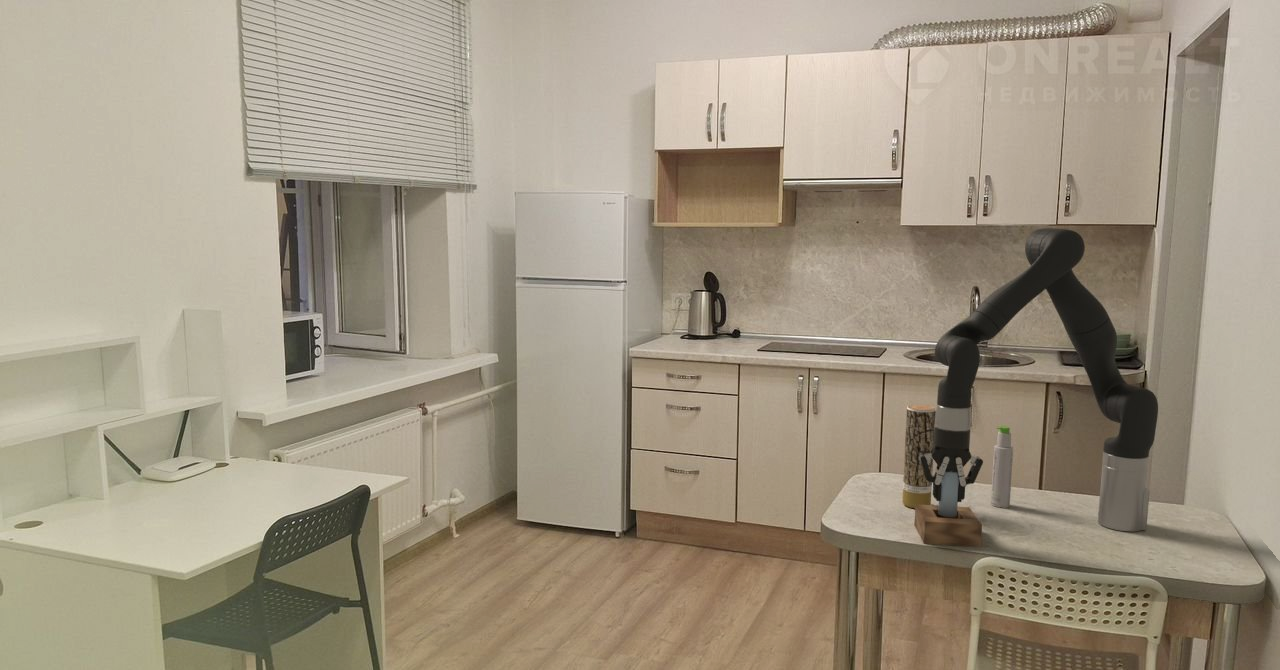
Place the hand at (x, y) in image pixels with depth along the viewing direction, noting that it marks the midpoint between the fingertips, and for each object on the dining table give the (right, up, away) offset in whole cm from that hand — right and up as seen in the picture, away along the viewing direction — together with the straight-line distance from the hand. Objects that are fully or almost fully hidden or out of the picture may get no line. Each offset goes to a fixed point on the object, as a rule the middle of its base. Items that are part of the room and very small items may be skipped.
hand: (948, 500), depth 192 cm
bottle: (+21, -6, +23) cm, 32 cm away
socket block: (0, -8, +1) cm, 8 cm away
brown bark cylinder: (0, -6, +22) cm, 23 cm away
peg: (0, -3, 0) cm, 3 cm away
